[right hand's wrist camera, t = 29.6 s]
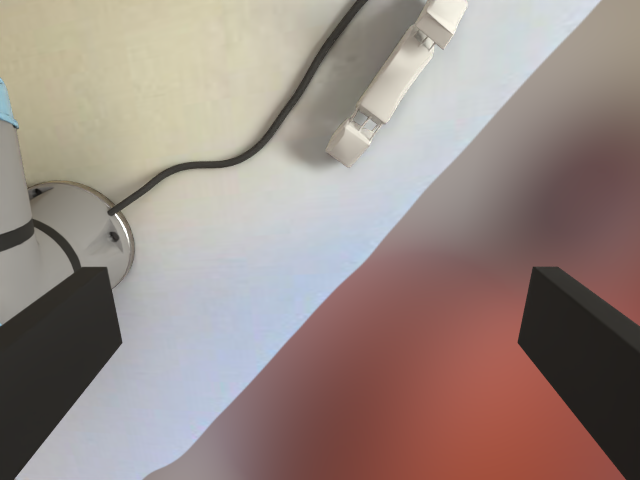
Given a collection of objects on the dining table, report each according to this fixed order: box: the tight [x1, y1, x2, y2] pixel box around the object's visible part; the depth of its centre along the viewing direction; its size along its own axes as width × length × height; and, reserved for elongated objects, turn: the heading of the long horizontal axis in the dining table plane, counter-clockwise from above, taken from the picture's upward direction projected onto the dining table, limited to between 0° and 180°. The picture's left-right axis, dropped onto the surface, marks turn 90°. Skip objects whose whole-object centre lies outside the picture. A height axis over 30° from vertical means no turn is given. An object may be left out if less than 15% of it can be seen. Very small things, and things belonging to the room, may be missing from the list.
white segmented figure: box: [325, 0, 468, 168], centre depth 41 cm, size 20×4×7 cm, turn 145°
